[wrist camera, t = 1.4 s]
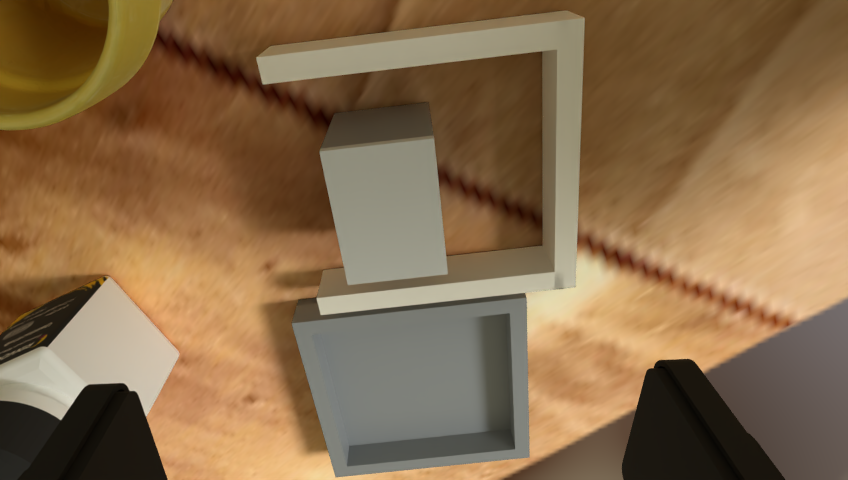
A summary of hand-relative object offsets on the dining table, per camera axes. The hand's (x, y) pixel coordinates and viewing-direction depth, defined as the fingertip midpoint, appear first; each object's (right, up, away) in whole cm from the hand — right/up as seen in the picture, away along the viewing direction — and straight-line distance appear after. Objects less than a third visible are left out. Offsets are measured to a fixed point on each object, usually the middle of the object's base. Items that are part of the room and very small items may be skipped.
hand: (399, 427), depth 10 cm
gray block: (-1, +7, +20) cm, 21 cm away
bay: (+1, +8, +20) cm, 21 cm away
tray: (0, -6, +27) cm, 28 cm away
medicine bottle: (-20, -3, +25) cm, 32 cm away
